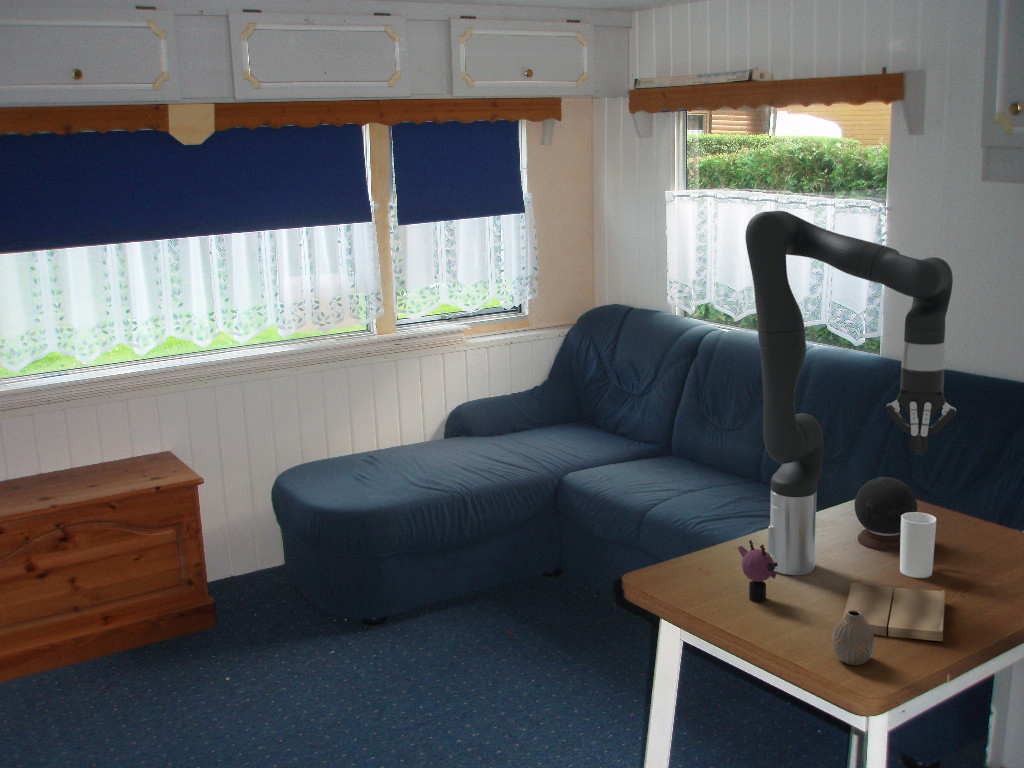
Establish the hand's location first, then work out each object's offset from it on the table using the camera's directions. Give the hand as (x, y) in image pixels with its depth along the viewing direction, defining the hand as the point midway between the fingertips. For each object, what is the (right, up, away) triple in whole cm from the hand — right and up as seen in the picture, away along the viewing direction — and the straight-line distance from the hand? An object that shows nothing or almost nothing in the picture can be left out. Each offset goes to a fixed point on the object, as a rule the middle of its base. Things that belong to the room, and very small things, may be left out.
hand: (918, 453), depth 190 cm
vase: (-19, -35, -18) cm, 43 cm away
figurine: (-29, -30, +7) cm, 42 cm away
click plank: (-2, -30, -4) cm, 31 cm away
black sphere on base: (+6, -22, +33) cm, 40 cm away
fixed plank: (-10, -30, -1) cm, 32 cm away
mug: (+7, -26, +17) cm, 32 cm away
